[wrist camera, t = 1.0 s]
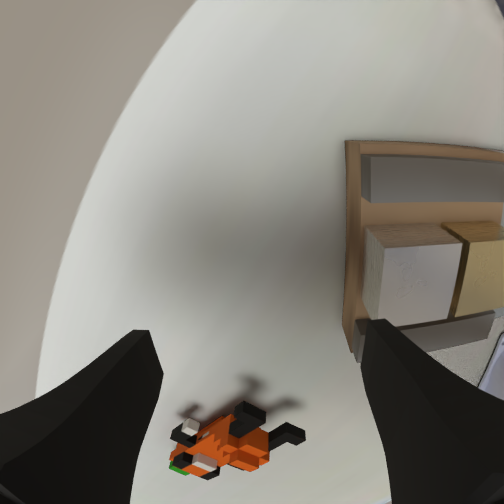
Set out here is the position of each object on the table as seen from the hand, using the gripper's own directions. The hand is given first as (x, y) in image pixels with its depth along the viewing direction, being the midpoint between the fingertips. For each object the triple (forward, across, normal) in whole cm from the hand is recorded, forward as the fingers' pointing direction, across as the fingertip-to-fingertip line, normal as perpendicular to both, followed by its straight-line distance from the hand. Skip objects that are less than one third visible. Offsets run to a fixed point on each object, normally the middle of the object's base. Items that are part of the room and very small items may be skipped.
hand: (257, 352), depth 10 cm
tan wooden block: (+6, -12, 0) cm, 13 cm away
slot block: (+9, -10, 0) cm, 14 cm away
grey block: (+6, -7, 0) cm, 10 cm away
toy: (+10, +5, +18) cm, 21 cm away
